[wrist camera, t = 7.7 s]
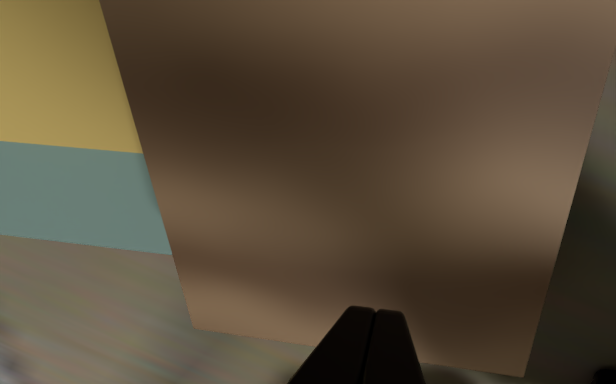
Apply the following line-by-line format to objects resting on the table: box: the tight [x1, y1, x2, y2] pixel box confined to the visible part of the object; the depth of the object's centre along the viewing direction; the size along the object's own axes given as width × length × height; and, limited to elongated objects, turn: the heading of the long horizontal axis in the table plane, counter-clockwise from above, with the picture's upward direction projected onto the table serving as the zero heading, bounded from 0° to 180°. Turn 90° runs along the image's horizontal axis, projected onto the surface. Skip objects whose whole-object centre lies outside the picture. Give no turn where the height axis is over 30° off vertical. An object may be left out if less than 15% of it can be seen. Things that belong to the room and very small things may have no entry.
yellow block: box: [0, 0, 143, 154], centre depth 19 cm, size 7×8×2 cm
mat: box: [0, 141, 172, 255], centre depth 20 cm, size 20×13×1 cm, turn 4°
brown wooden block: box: [99, 0, 616, 378], centre depth 16 cm, size 20×12×4 cm, turn 4°
